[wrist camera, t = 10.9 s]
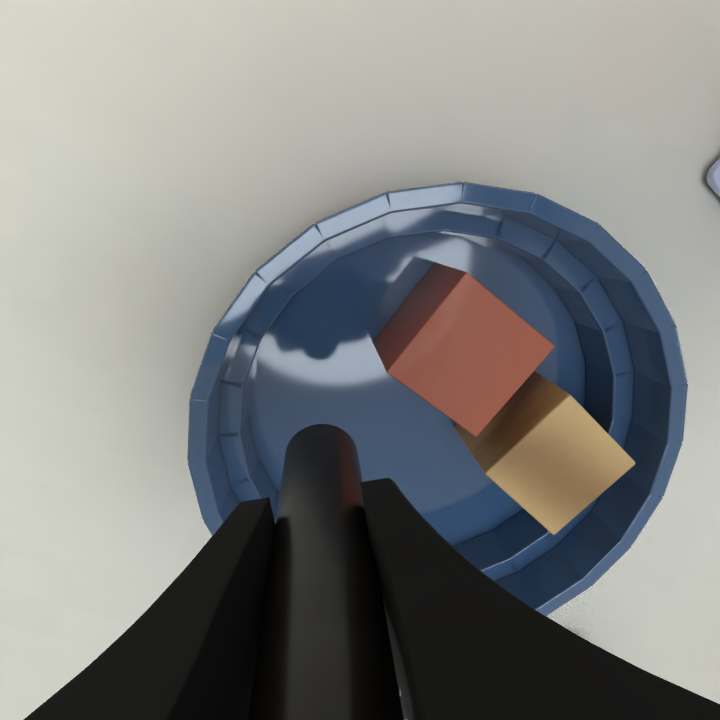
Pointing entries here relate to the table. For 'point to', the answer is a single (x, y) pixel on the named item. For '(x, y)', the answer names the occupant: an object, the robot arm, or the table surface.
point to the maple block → (547, 453)
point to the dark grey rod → (323, 595)
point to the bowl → (414, 414)
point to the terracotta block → (460, 347)
